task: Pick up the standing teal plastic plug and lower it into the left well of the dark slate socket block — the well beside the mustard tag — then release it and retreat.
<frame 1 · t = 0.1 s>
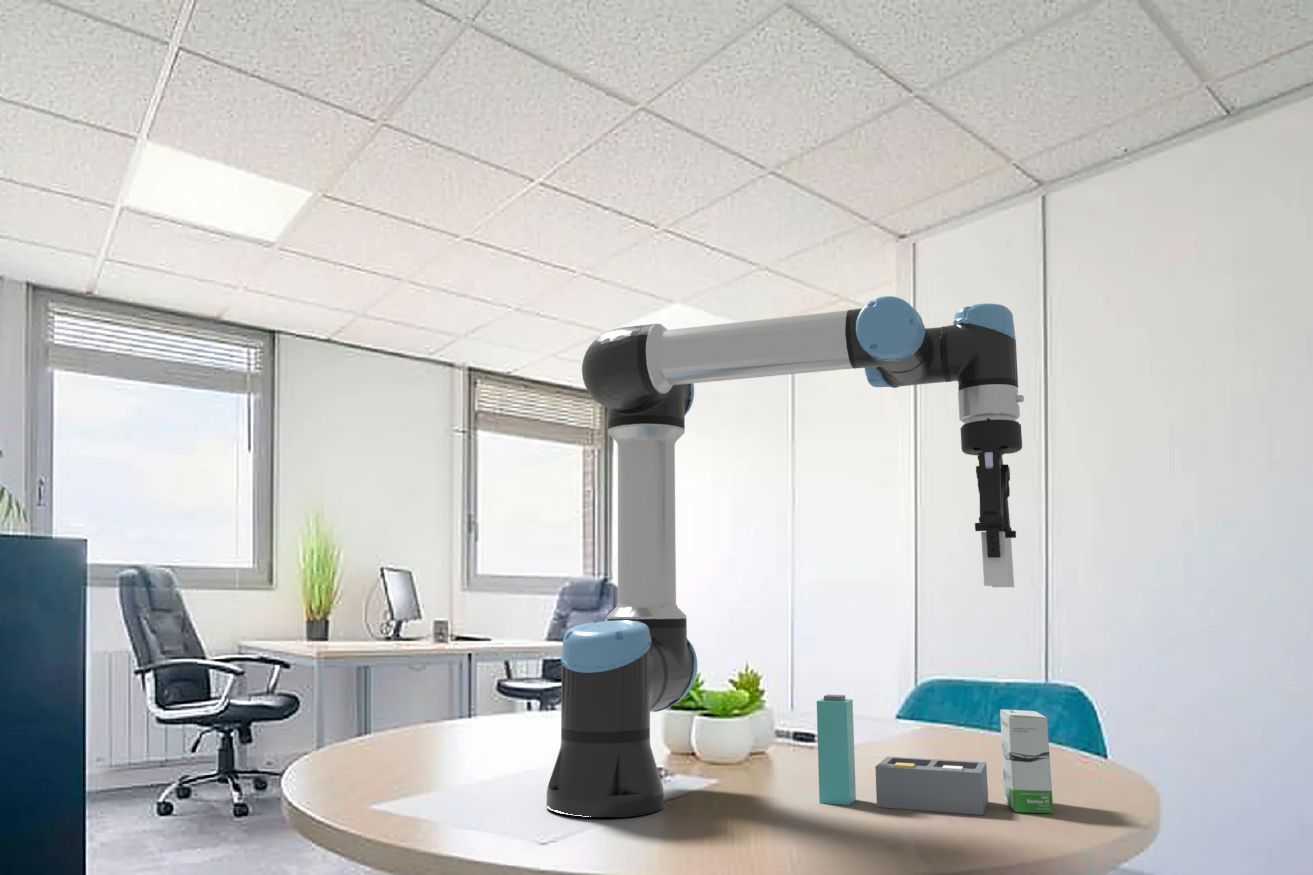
hand: (999, 586, 125), 28 cm above the table, fingers open, 13 cm apart
socket block: (933, 804, 128), on the table
plug: (837, 801, 130), on the table
ink box: (1028, 808, 126), on the table
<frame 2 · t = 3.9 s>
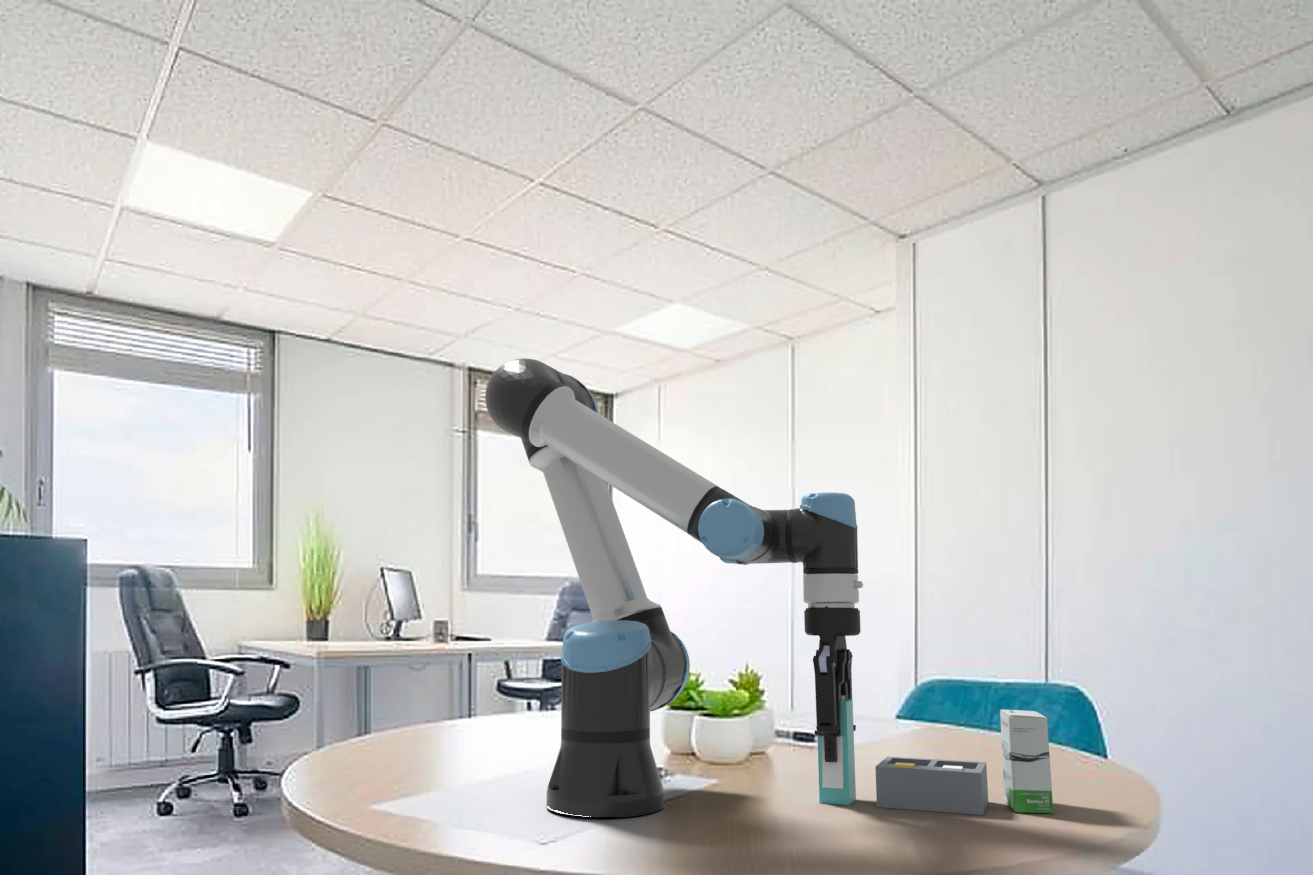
hand: (837, 784, 131), 2 cm above the table, fingers closed on plug, 4 cm apart
plug: (837, 801, 130), on the table, touching gripper
everything else where it was.
when the fingers open (6 cm above the table, at t = 9.1 s): plug drops 3 cm, resting on socket block.
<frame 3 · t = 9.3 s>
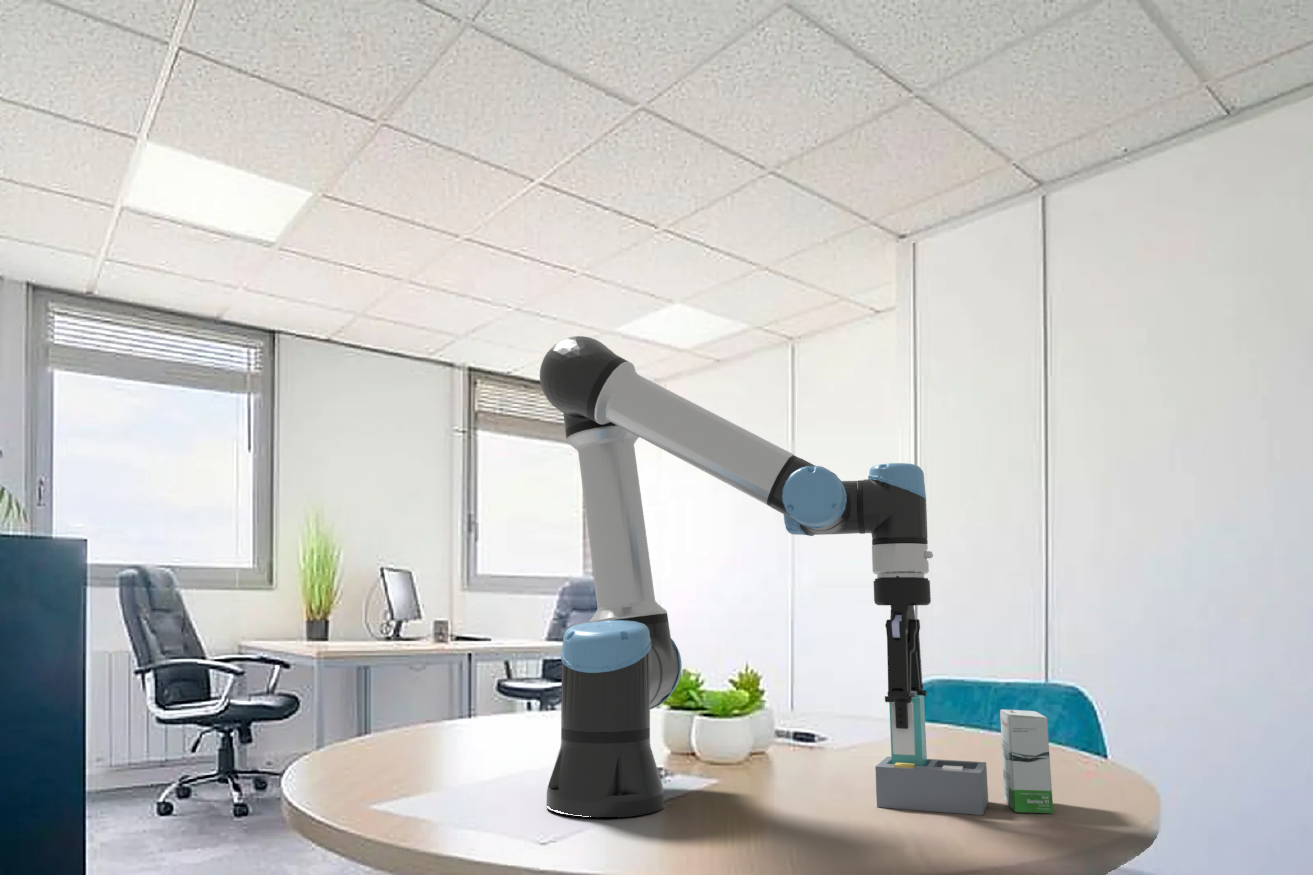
hand: (908, 749, 131), 7 cm above the table, fingers open, 7 cm apart
plug: (911, 797, 130), resting on socket block
everything else where it was.
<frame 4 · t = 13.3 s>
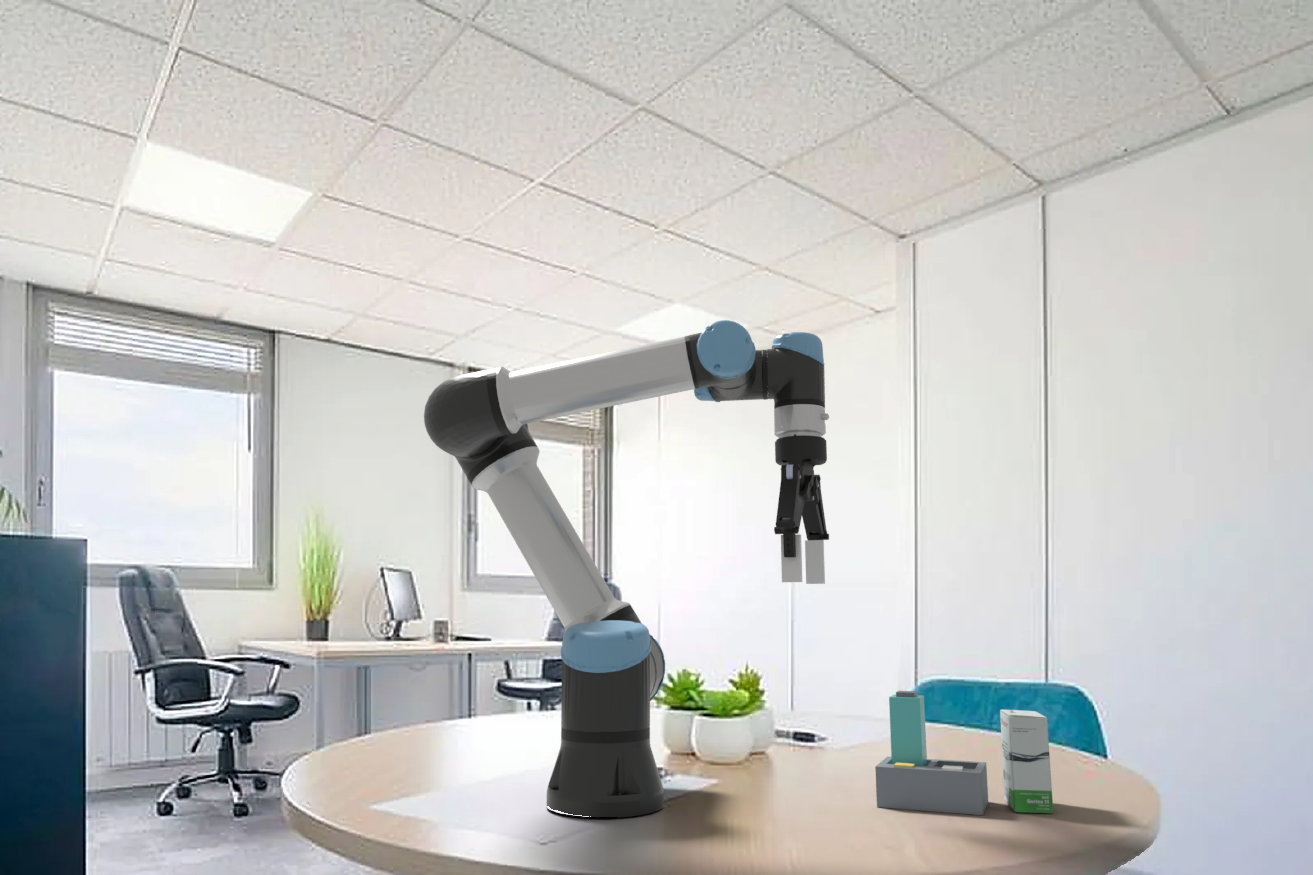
hand: (804, 583, 142), 29 cm above the table, fingers open, 13 cm apart
nothing on the table moved.
at the end: plug 0.0 cm from the target spot on the socket block, point 0.5 cm above the socket block's base; plug tilted 0°; the gripper is holding nothing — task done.
